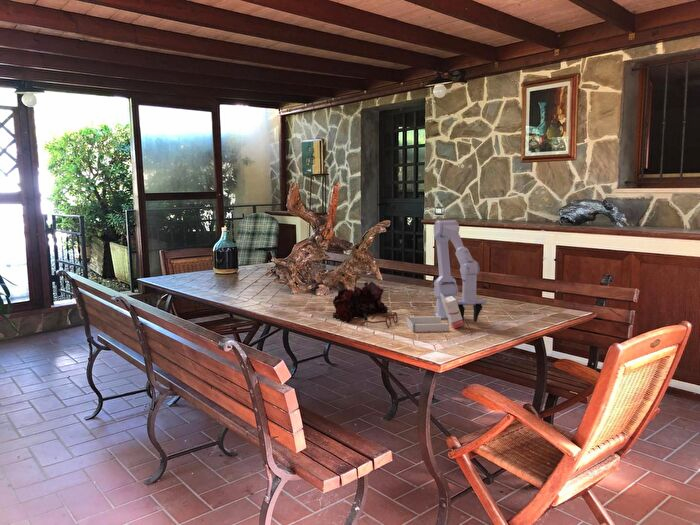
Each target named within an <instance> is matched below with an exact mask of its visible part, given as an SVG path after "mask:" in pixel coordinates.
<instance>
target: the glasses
mask: <svg viewBox="0 0 700 525" xmlns="http://www.w3.org/2000/svg"><path fill="white" fill-rule="evenodd" d="M376 317H382V318H385V320H376V321H370V320H374V319H375V318H376ZM391 319H392V320H391ZM395 319H396V320H395ZM370 320H364V321H363V322H361V323H360V324H359V326H363V325H364V324H365V323H370V324H379V323H385V326H386V327H387V328H390V327H392V321H393V323H394V324H396V323H398V320H399V319H398V314H397V312H395V311H394V312H393V313H392V314H387V315H382V314H374V315H373V316H372V317H371V318H370ZM388 321H389V325H388ZM389 326H390V327H389Z"/></svg>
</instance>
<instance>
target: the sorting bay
mask: <svg viewBox="0 0 700 525" xmlns="http://www.w3.org/2000/svg"><path fill="white" fill-rule="evenodd" d="M406 325H407V326H408V327H410V328H409V329H410V330H411V332H413V333H422V332H423V333H427V332H428V331H430V332H449V331H450V324H449V322H448V323H447V322H445V323H442V319H441V316H436V315H435V316H433V315H431V316H408V315H407V317H406ZM430 332H429V333H430Z"/></svg>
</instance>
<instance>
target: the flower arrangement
mask: <svg viewBox="0 0 700 525" xmlns="http://www.w3.org/2000/svg"><path fill="white" fill-rule="evenodd" d="M337 291H338V292H337V295H336V296H334V299H333V300H332V305H333V306H334V309H335V312H333V313H332V319H334V318H336V319H335V320H337V319H340V320H339V321H342V320H344V321H346V322H345V323H351V322H352V319H355V318H354V317H358V318H363V319H364V318H365V319H364V321H368V317H367V316H369V315H368V314H371V315H374V314H373V313H375V314H379V313H378V312H382V313H383V314H387V313H388V306H386V305H385V302H383V301H382V296H383V293H384V291H385V290H384V289H383V288H381V287H380V286H379V285H377V284H376V283H374V282H373V281H370V282H368V281H366V282H364V283H363V287H362V288H360V287H359V286H354V287H353V290H352V289H349V288H339V289H338V290H337ZM344 321H343V322H344ZM350 321H351V322H350Z"/></svg>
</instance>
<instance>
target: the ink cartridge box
mask: <svg viewBox="0 0 700 525" xmlns="http://www.w3.org/2000/svg"><path fill="white" fill-rule="evenodd" d="M440 296H441V300H442V303H443V306H444V309H445V312H446V315H447V318H446V319H447V321H448V323H449V326H451V327H452V328H453V329H457V328H461V327H464V326H465V323H464V322H465V321H464V322H463V319H462V316H461V313H460V310H459V307H458V304H457V300H458V299H456V297H455V298H454V297H452V296H450V297H447V298H445V297H444V296H443V295H442V294H441V293H440ZM442 297H443V298H442Z"/></svg>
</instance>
